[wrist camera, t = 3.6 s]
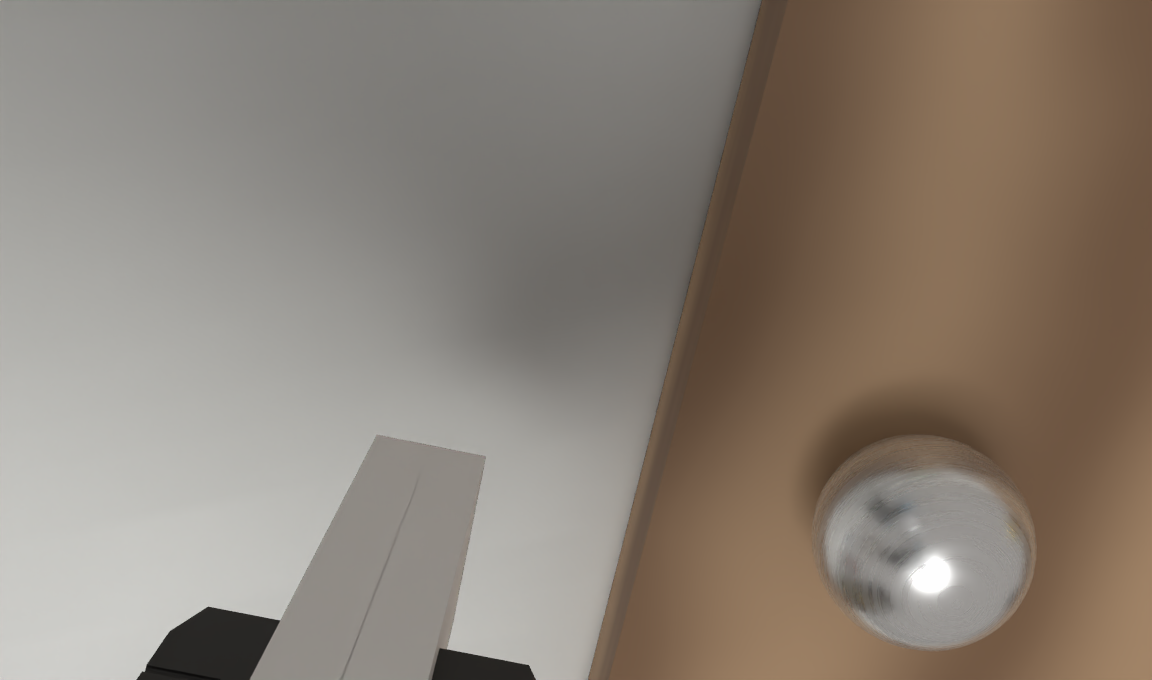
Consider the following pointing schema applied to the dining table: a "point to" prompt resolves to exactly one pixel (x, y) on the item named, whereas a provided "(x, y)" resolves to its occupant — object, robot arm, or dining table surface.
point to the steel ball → (924, 542)
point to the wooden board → (909, 336)
